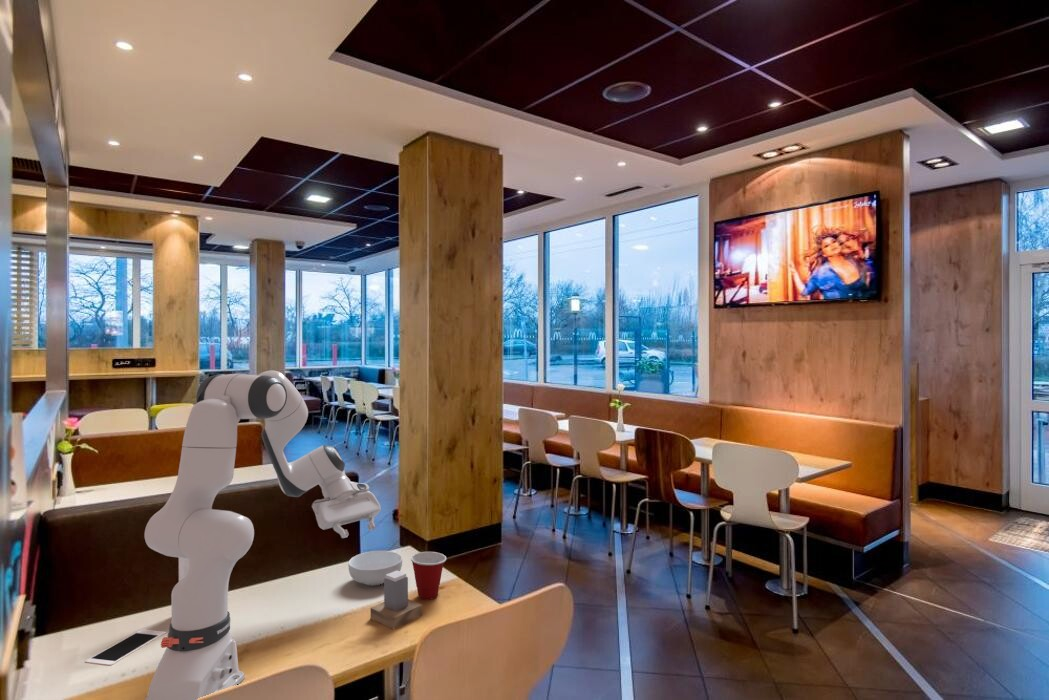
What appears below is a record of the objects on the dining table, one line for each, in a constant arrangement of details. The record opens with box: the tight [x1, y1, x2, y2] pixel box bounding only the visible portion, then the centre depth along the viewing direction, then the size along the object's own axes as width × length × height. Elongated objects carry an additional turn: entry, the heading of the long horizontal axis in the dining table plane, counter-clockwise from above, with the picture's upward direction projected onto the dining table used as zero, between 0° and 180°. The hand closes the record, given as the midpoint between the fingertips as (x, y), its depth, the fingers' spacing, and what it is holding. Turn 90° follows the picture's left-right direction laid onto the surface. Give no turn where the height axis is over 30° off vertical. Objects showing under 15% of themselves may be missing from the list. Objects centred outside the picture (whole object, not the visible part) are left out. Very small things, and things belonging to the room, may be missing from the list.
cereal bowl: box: [348, 550, 403, 587], centre depth 183 cm, size 17×17×7 cm
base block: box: [369, 598, 423, 630], centre depth 158 cm, size 10×10×3 cm
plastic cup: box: [410, 551, 447, 601], centre depth 172 cm, size 11×11×12 cm
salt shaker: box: [383, 570, 409, 611], centre depth 158 cm, size 5×5×9 cm
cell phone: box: [84, 628, 166, 666], centre depth 143 cm, size 8×16×1 cm, turn 168°
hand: (359, 532), depth 168 cm, fingers open, 8 cm apart
